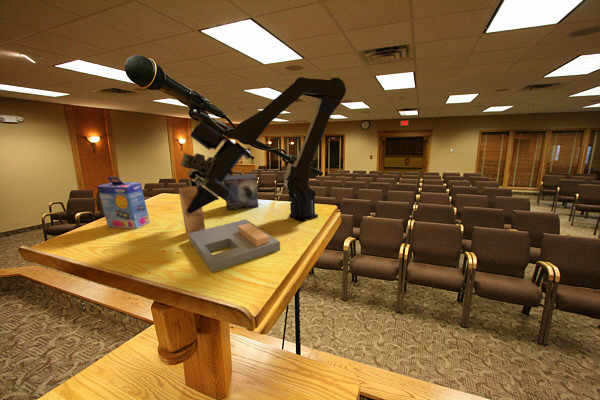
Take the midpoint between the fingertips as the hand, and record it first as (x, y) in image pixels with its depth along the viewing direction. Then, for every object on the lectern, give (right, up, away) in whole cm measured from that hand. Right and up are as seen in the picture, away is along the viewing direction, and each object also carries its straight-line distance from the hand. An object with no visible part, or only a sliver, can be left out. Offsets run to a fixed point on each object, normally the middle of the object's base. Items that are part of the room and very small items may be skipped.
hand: (186, 210), depth 66 cm
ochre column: (+1, -6, +3) cm, 7 cm away
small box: (+9, 0, +24) cm, 26 cm away
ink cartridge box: (-21, -5, +10) cm, 24 cm away
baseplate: (+13, -8, -5) cm, 16 cm away
